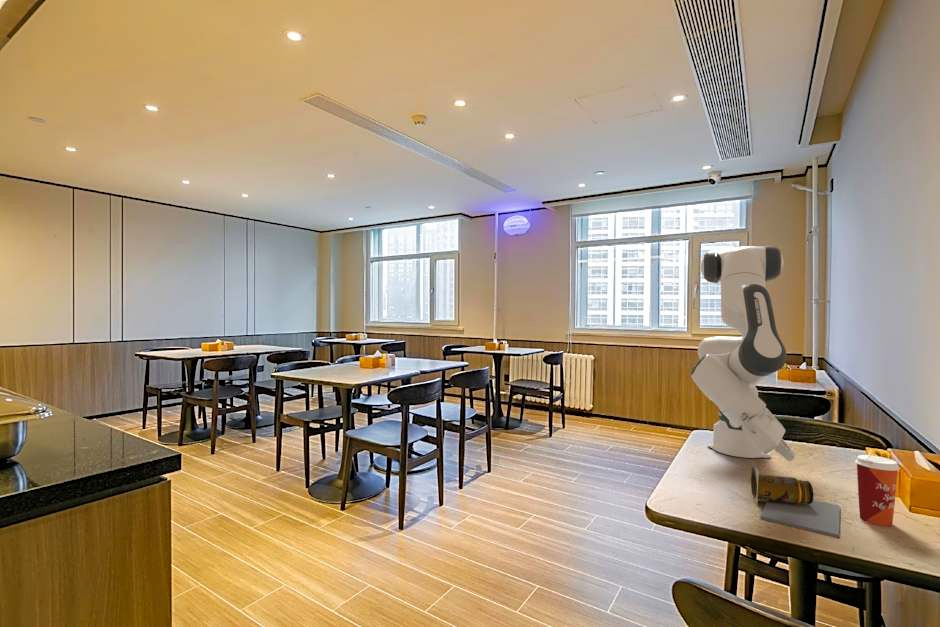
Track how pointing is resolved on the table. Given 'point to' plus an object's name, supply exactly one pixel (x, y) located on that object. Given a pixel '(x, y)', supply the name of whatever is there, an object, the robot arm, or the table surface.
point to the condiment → (780, 488)
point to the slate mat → (805, 516)
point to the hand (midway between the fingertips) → (792, 458)
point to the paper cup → (876, 489)
